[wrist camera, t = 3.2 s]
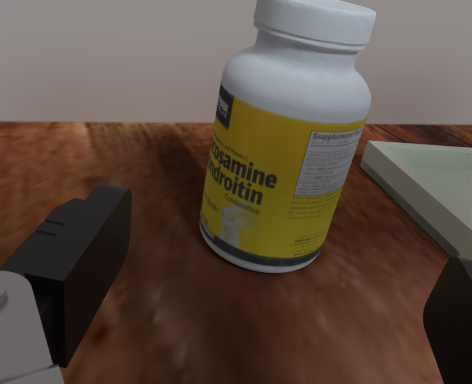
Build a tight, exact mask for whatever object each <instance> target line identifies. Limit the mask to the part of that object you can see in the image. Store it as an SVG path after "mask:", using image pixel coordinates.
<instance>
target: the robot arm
mask: <svg viewBox="0 0 472 384" xmlns="http://www.w3.org/2000/svg"><path fill="white" fill-rule="evenodd" d="M131 205H132V192H131V190H130V189H127V188H122V187H117V186H113V185H108V184H103V183H100V184H99V185H98V186H97V187H96V188H95V189H94V190H93V192H92V193H91V194H90V195H89V196H88V198H87V199H86V200H82V199H77V198H74V199H72V200H70V201H68V202H66V203H64V204H62V205H60V206H58V207H56V208H55V209H54V210H53V211H52V213H51V214H50V215H49V216H48V217H47V218H46V219H45V222H42V223H41V224H40V225H39V227H38V228H37V229H36V230H35V233H32V234H31V235H30V236H29V237H28V238H27V240H26V241H25V242H24V243H23V244H22V245H21V246H20V247H19V248H18V249H17V250H16V251H15V252H14V254H13V255H12V256H11V257H10V258H9V259H8V260H7V261H6V262H5V263H4V264H3V265H2V266H1V268H0V384H64V380H63V377H62V374H61V371H60V368H59V367H63V368H67V366H68V364H69V362H70V360H71V358H72V357H73V355H74V353H75V351H76V349H77V347H78V345H79V344H80V342H81V340H82V338H83V336H84V334H85V333H86V331H87V329H88V327H89V325H90V323H91V322H92V320H93V318H94V316H95V314H96V312H97V311H98V309H99V307H100V305H101V303H102V301H103V299H104V298H105V296H106V294H107V292H108V290H109V288H110V287H111V285H112V283H113V281H114V279H115V277H116V276H117V274H118V272H119V270H120V268H121V266H122V264H123V262H124V260H125V257H126V254H127V250H128V245H129V236H130V220H131ZM423 324H424V328H425V331H426V334H427V337H428V340H429V343H430V345H431V348H432V351H433V354H434V357H435V359H436V362H437V365H438V368H439V371H440V374H441V376H442V379H443V382H444V384H472V260H469V259H464V258H459V257H452V258H450V259H449V260H448V262H447V263H446V265H445V267H444V269H443V271H442V273H441V274H440V276H439V278H438V280H437V282H436V284H435V286H434V288H433V290H432V292H431V294H430V296H429V298H428V300H427V302H426V304H425V307H424V313H423Z"/></svg>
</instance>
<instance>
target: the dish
mask: <svg viewBox="0 0 472 384" xmlns="http://www.w3.org/2000/svg"><path fill="white" fill-rule="evenodd" d="M360 167H361V168H362V169H363V170H364V171H365V172H366V173H367V174H368V175H369V176H370V177H371V178H372V179H373V180H374V181H375V182H376V183H377V184H378V185H379V186H380V187H381V188H382V189H383V190H384V191H385V192H386V193H387V194H388V195H389V196H390V197H391V198H392V199H393V200H394V201H395V202H396V203H397V204H398V205H399V206H400V207H401V208H402V209H403V210H404V211H405V212H406V213H407V214H408V215H409V216H410V217H411V218H412V219H413V220H414V221H415V222H416V223H417V224H418V225H419V226H420V227H421V228H422V229H423V230H424V231H425V232H426V233H427V234H428V235H429V236H430V237H431V238H432V239H433V240H434V241H435V242H436V243H437V244H438V245H439V246H440V247H441V248H442V249H443V250H444V251H445V252H446V253H447V254H448V255H449V256H450V257H451V258H452V257H459V258H464V259H469V260H472V148H466V147H452V146H438V145H424V144H410V143H396V142H382V141H368V142H367V145H366V148H365V151H364V154H363V157H362V160H361V163H360Z"/></svg>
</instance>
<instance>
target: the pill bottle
mask: <svg viewBox="0 0 472 384" xmlns="http://www.w3.org/2000/svg"><path fill="white" fill-rule="evenodd" d="M375 17H376V13H375V11H373V10H371V9H368V8H365V7H362V6H359V5H355V4H352V3H348V2H344V1H340V0H257V4H256V9H255V13H254V20H255V21H254V26H255V27H256V28H258V29H259V31H258V35H257V39H256V43H255V45H254V46H253V47H249V48H247V49H244V50H242V51H240V52H239V53H237V54H236V55H235V56H233V57H232V58H231V59H230V60H229V61H228V63H227V64H226V66H225V68H224V71H223V75H222V80H221V85H220V91H219V98H218V105H217V111H216V117H215V122H214V128H213V134H212V141H211V147H210V153H209V159H208V166H207V173H206V179H205V185H204V192H203V197H202V204H201V211H200V230H201V233H202V235H203V237H204V239H205V241H206V242H207V243H208V245H209V246H210V247H211V248H212V249H213V250H214V251H215V252H216V253H217V254H218V255H220V256H221V257H223V258H224V259H226V260H228V261H229V262H231V263H233V264H235V265H238V266H240V267H243V268H246V269H250V270H254V271H258V272H266V273H284V272H290V271H294V270H298V269H300V268H303V267H305V266H306V265H308V264H309V263H311V262H312V261H313V260H314V259H315V258H316V257H317V256H318V254H319V253H320V251H321V249H322V246H323V244H324V241H325V238H326V235H327V232H328V229H329V226H330V223H331V220H332V217H333V214H334V211H335V208H336V206H337V203H338V200H339V197H340V194H341V191H342V188H343V185H344V182H345V180H346V177H347V174H348V171H349V168H350V165H351V162H352V159H353V156H354V153H355V150H356V148H357V145H358V142H359V139H360V136H361V133H362V130H363V127H364V124H365V121H366V118H367V115H368V112H369V108H370V104H371V95H370V91H369V89H368V86H367V84H366V83H365V81H364V80H363V78H362V77H361V75H360V74H359V73H358V72H357V71H356V70H355V69H354V63H355V59H356V56H357V52H358V51H361V50H364V49H365V47H366V44H367V43H368V42H369V39H370V35H371V31H372V28H373V25H374V21H375Z"/></svg>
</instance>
